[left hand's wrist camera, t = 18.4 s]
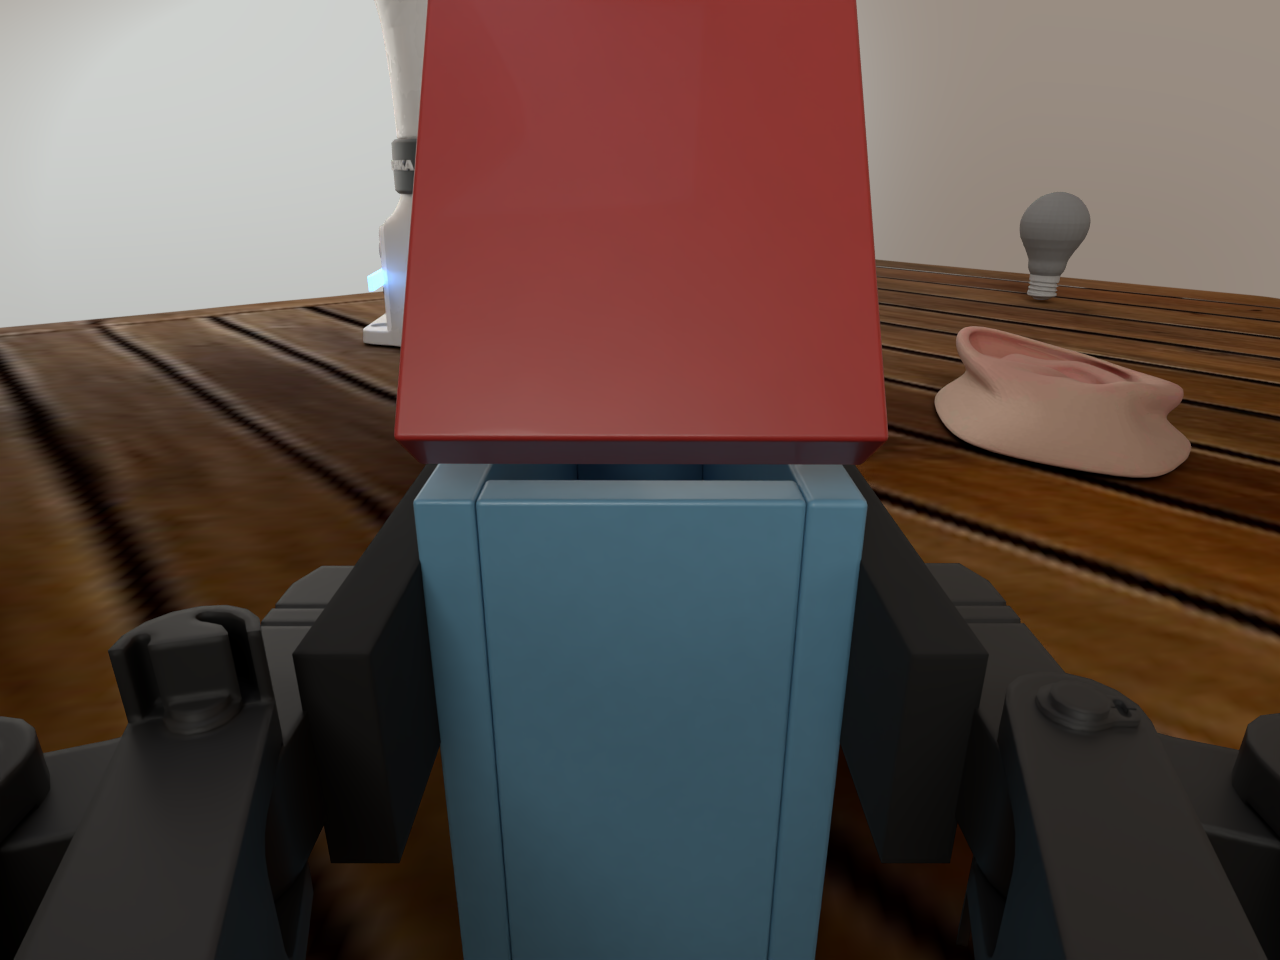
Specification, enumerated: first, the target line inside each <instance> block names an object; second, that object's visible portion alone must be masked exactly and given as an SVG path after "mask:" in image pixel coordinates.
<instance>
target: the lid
mask: <svg viewBox="0 0 1280 960" xmlns="http://www.w3.org/2000/svg"><path fill="white" fill-rule="evenodd" d="M394 437H395V440H396V441H397V442H398V443H400V444H401V445H402V446H403V447H404V448H405V449H406V450H407V451H408V452H409V453H410V454H411V455H412V456H413V457H414V458H415V459H416V460H417V461H418V462H420V463H422V464H803V465H860V464H862V463H864V462H865V461H866V460H867V459H868V458H869V457H870V456H871V455H872V454H873V453H874V452H875V451H876V450H877V449H879V448H880V447H881V446H882V445H883V444H884V443H885V442H886V441H887V439H888V425H887V412H886V398H885V385H884V371H883V358H882V344H881V331H880V317H879V304H878V290H877V277H876V263H875V250H874V236H873V223H872V209H871V196H870V182H869V169H868V155H867V141H866V128H865V114H864V101H863V88H862V74H861V61H860V47H859V33H858V20H857V6H856V0H428V2H427V15H426V28H425V41H424V54H423V67H422V80H421V93H420V106H419V119H418V132H417V145H416V158H415V170H414V183H413V196H412V209H411V222H410V235H409V248H408V261H407V274H406V287H405V300H404V313H403V326H402V339H401V351H400V364H399V377H398V390H397V403H396V416H395V429H394Z"/></svg>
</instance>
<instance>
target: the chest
mask: <svg viewBox="0 0 1280 960" xmlns="http://www.w3.org/2000/svg"><path fill="white" fill-rule="evenodd" d="M413 507H414V516H415V525H416V534H417V543H418V552H419V560H420V562H421V571H422V580H423V589H424V598H425V607H426V616H427V624H428V633H429V642H430V651H431V660H432V669H433V677H434V686H435V695H436V704H437V713H438V722H439V731H440V739H441V743H440V749H441V758H442V767H443V776H444V785H445V794H446V803H447V812H448V821H449V830H450V839H451V848H452V857H453V866H454V875H455V884H456V893H457V902H458V911H459V920H460V929H461V938H462V947H463V956H464V960H815V953H816V945H817V936H818V927H819V919H820V910H821V902H822V893H823V885H824V876H825V867H826V859H827V850H828V842H829V833H830V824H831V816H832V807H833V799H834V790H835V782H836V773H837V764H838V756H839V747H840V735H841V726H842V717H843V709H844V700H845V691H846V683H847V674H848V665H849V656H850V648H851V639H852V630H853V621H854V612H855V604H856V595H857V586H858V577H859V569H860V561H861V558H862V550H863V542H864V533H865V524H866V516H867V507H868V505H867V502H866V500H865V498H864V497H863V495H862V494H861V492H860V491H859V489H858V488H857V486H856V485H855V483H854V482H853V480H852V479H851V477H850V476H849V474H848V473H847V471H846V470H845V468H844V467H843V465H803V464H438V465H437V467H436V468H435V470H434V471H433V473H432V474H431V476H430V477H429V479H428V480H427V482H426V483H425V485H424V486H423V488H422V489H421V491H420V492H419V494H418V495H417V497H416V498H415V500H414V502H413Z"/></svg>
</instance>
